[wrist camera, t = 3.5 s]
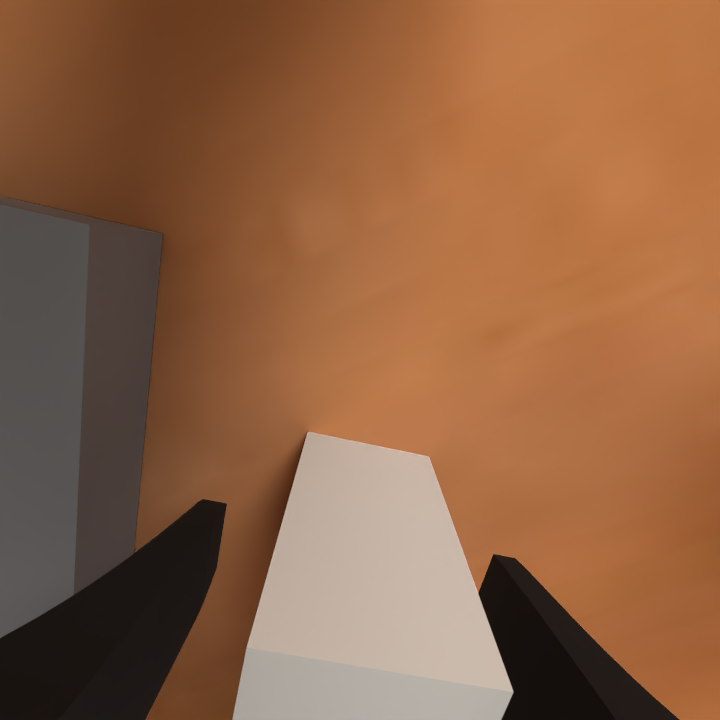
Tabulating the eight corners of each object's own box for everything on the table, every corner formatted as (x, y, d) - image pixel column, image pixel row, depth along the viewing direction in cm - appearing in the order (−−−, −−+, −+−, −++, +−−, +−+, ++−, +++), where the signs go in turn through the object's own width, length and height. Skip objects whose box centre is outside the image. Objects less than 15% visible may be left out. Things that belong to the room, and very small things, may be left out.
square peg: (398, 556, 13) (439, 857, 7) (285, 535, 13) (211, 826, 6) (428, 456, 12) (513, 691, 6) (307, 431, 12) (246, 647, 5)
